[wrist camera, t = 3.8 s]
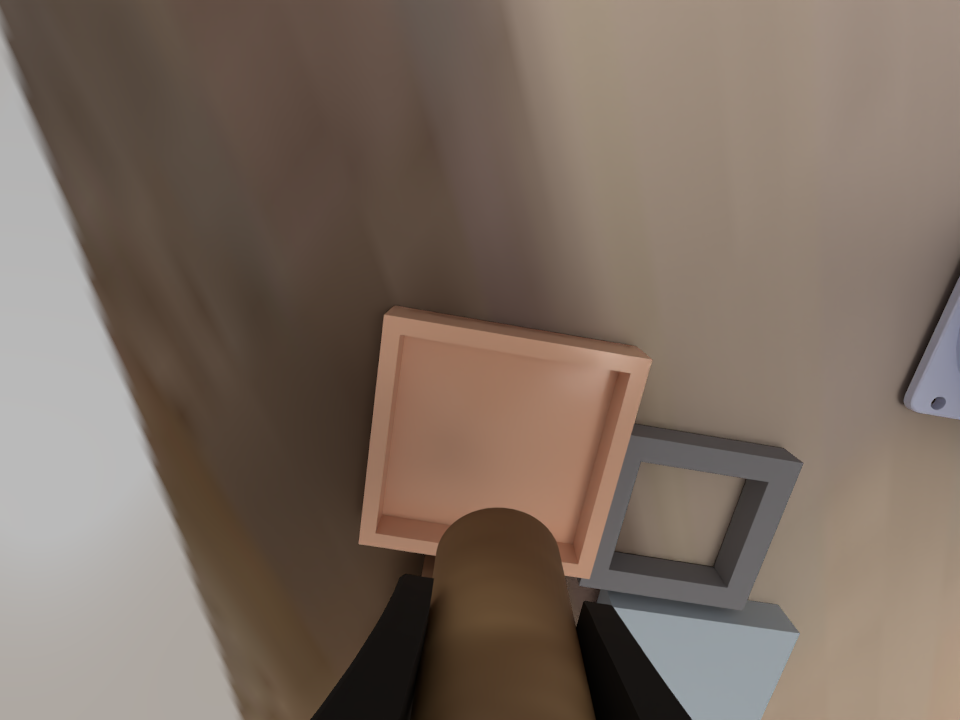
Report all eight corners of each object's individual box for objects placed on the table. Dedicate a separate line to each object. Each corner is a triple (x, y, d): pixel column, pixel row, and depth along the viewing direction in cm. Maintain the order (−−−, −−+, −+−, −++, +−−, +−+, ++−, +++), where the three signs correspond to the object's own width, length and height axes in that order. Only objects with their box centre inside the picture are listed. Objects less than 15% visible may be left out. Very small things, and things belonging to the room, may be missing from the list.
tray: (636, 346, 18) (652, 359, 16) (580, 548, 20) (589, 579, 18) (394, 305, 17) (384, 314, 15) (369, 515, 20) (358, 543, 18)
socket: (783, 448, 19) (803, 463, 17) (728, 589, 21) (742, 610, 19) (613, 420, 18) (621, 433, 17) (573, 565, 20) (579, 585, 19)
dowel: (580, 531, 12) (706, 952, 5) (531, 625, 12) (582, 1094, 6) (460, 490, 11) (421, 877, 5) (419, 590, 12) (335, 1038, 6)
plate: (771, 596, 21) (799, 633, 19) (718, 722, 24) (739, 766, 22) (600, 571, 21) (612, 607, 19) (563, 701, 23) (570, 744, 21)
